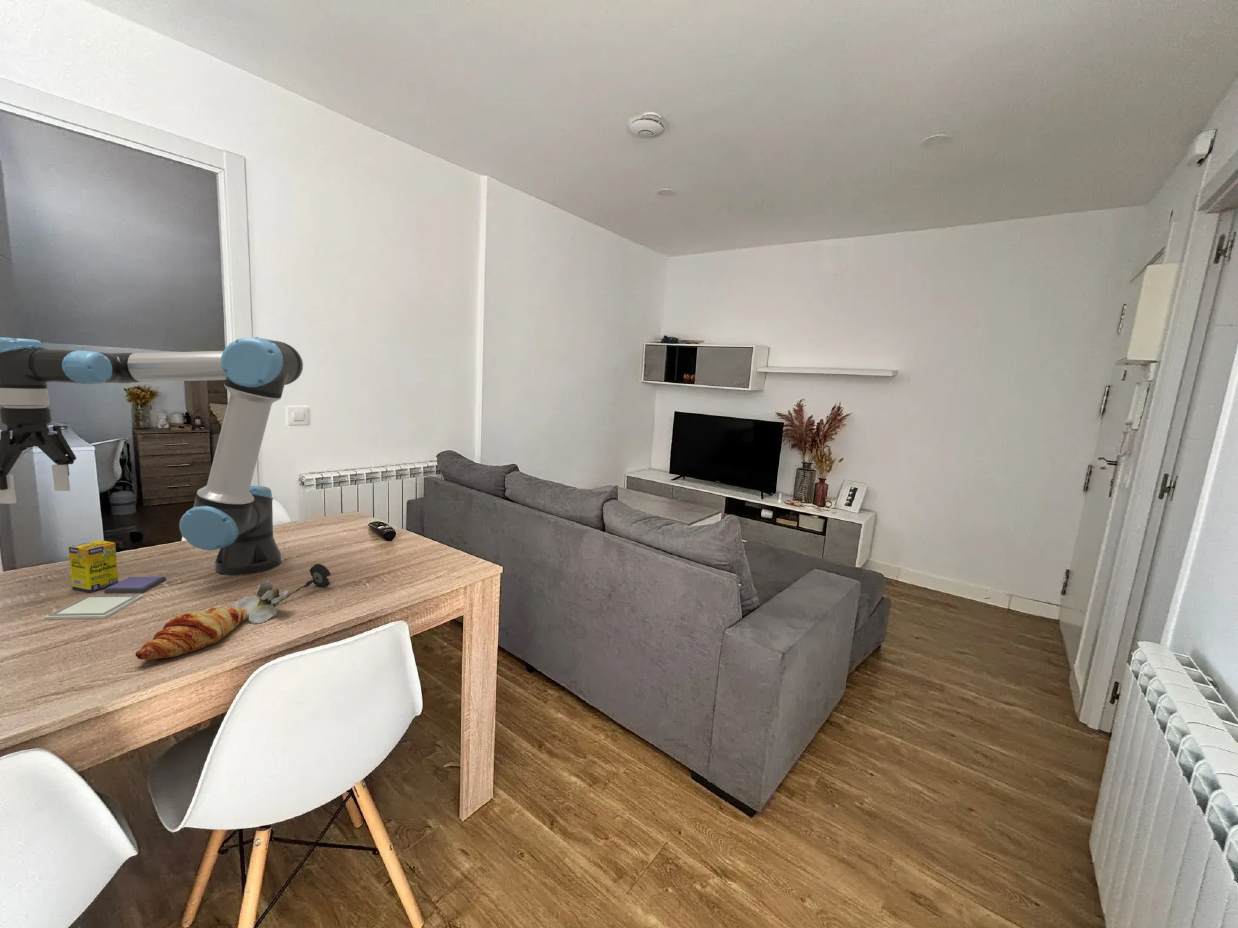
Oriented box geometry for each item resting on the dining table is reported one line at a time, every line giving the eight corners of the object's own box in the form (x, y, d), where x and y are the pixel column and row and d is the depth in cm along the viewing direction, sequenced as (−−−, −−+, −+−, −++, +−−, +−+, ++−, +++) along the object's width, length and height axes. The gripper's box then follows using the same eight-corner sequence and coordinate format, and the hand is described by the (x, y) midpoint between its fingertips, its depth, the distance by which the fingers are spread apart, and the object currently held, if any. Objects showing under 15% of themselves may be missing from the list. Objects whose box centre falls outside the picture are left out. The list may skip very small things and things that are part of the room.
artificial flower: (339, 592, 132) (342, 561, 128) (255, 640, 111) (257, 604, 108) (312, 579, 134) (315, 547, 130) (226, 623, 113) (226, 587, 110)
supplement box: (90, 593, 119) (86, 549, 118) (71, 589, 120) (67, 546, 119) (119, 584, 125) (116, 542, 123) (101, 580, 126) (97, 539, 124)
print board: (142, 597, 119) (142, 594, 119) (105, 618, 108) (105, 614, 108) (88, 597, 117) (87, 594, 117) (44, 619, 106) (44, 615, 106)
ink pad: (165, 580, 129) (165, 575, 129) (143, 592, 121) (142, 588, 121) (129, 580, 127) (129, 575, 127) (104, 593, 120) (103, 588, 119)
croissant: (236, 631, 113) (222, 599, 113) (269, 617, 111) (254, 585, 111) (128, 680, 93) (110, 641, 93) (165, 665, 90) (147, 625, 90)
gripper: (55, 403, 126) (65, 485, 129) (-57, 408, 102) (-41, 509, 105) (90, 405, 128) (99, 486, 131) (-12, 410, 103) (2, 509, 107)
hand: (36, 496), depth 118 cm, fingers open, 13 cm apart
